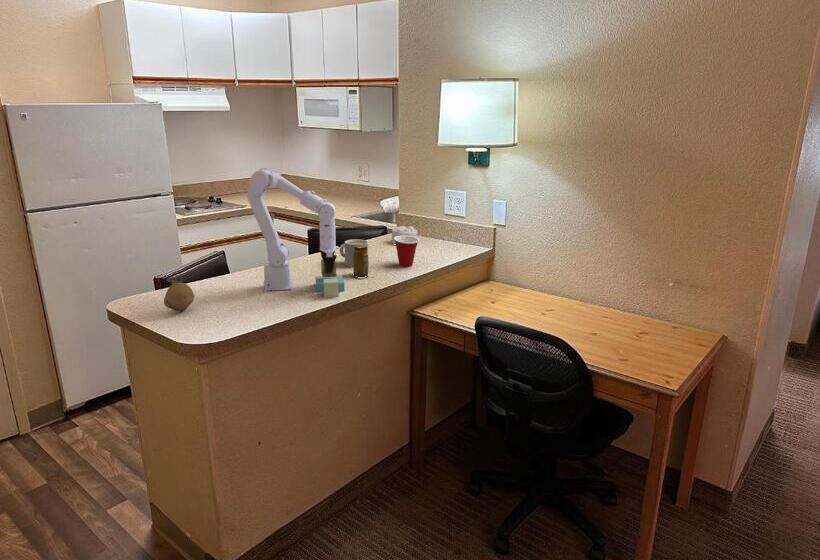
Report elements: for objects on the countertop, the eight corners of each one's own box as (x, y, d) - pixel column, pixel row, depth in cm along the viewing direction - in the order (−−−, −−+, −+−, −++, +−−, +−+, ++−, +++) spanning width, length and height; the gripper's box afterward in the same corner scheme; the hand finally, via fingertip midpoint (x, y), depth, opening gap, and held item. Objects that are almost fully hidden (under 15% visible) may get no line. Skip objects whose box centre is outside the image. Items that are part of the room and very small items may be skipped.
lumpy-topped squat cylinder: (404, 240, 292) (404, 223, 289) (422, 245, 283) (422, 227, 280) (388, 243, 285) (388, 226, 282) (407, 248, 276) (407, 231, 274)
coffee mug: (372, 264, 248) (372, 242, 246) (356, 269, 241) (355, 246, 238) (351, 258, 257) (351, 236, 254) (334, 263, 250) (334, 240, 247)
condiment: (365, 271, 238) (365, 243, 234) (374, 277, 231) (374, 248, 227) (349, 274, 234) (348, 245, 231) (357, 279, 227) (357, 250, 224)
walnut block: (322, 277, 213) (322, 263, 212) (321, 273, 218) (321, 259, 216) (336, 276, 214) (335, 262, 213) (334, 272, 219) (334, 258, 218)
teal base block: (317, 293, 212) (317, 284, 211) (315, 285, 221) (315, 276, 220) (344, 291, 214) (344, 282, 213) (341, 283, 223) (341, 275, 222)
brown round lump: (201, 311, 191) (198, 283, 188) (175, 318, 185) (172, 289, 182) (187, 305, 197) (184, 277, 194) (162, 311, 190) (158, 283, 187)
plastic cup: (408, 270, 241) (409, 242, 237) (388, 265, 247) (388, 238, 243) (423, 264, 249) (424, 237, 246) (404, 260, 255) (404, 234, 252)
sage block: (324, 297, 206) (324, 283, 205) (323, 293, 211) (323, 278, 209) (338, 296, 207) (338, 282, 206) (337, 292, 212) (337, 278, 210)
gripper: (340, 239, 206) (341, 276, 210) (336, 230, 219) (337, 265, 223) (320, 240, 204) (321, 276, 208) (318, 231, 218) (319, 266, 222)
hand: (328, 271), depth 216 cm, fingers closed on walnut block, 5 cm apart
